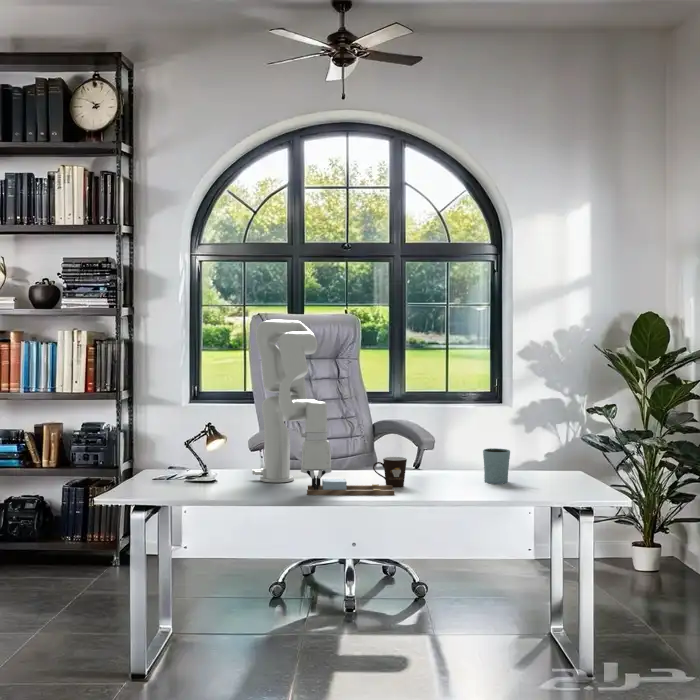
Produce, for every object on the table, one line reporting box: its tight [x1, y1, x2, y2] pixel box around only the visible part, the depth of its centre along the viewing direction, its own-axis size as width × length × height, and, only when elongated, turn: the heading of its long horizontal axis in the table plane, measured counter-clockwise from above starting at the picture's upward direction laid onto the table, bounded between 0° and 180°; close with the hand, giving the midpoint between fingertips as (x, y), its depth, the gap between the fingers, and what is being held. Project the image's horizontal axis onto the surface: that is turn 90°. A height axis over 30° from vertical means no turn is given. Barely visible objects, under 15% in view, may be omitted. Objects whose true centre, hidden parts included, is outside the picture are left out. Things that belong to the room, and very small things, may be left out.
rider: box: [321, 478, 348, 490], centre depth 315 cm, size 8×6×4 cm
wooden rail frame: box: [306, 483, 395, 496], centre depth 316 cm, size 30×10×2 cm, turn 91°
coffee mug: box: [372, 456, 408, 488], centre depth 329 cm, size 12×9×10 cm
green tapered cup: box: [482, 447, 511, 485], centre depth 338 cm, size 10×10×12 cm
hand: (316, 489), depth 315 cm, fingers closed
